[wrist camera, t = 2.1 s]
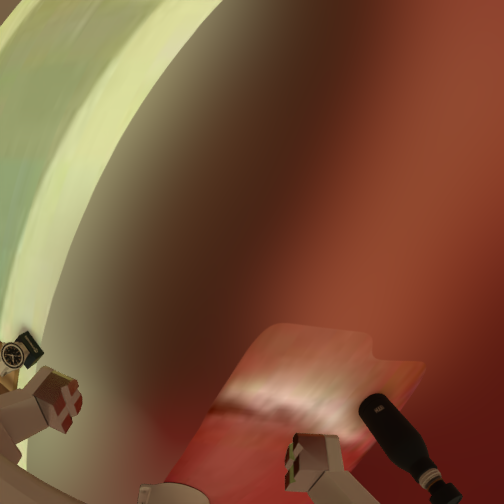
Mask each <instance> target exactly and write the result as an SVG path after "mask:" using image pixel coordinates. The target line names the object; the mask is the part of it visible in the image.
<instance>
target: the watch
mask: <svg viewBox="0 0 504 504" xmlns="http://www.w3.org/2000/svg"><path fill="white" fill-rule="evenodd" d="M2 345H3V347H2V349H1V352H0V375H1V377H4V376H5V375H7V374H9V373H11V372H12V371H14V370H18V369H20V368H21V367H22V365H23V364H24V365H25V367H26V368H27V369H29V368H30V367H31V366H33V365H34V364H35V363H36V362H37V361H38V360H39V359H40V358H41V356H42V355H43V354H44V352H43V351H42V350H41V348H40V347H39V346H38V344H37V343H36V342H35V340H34V339H33V338H32V336H31V335H30V333H29V332H28V331H27V332H25V333H23V334H21V335H19V336H18V338H17V339H16V340H15V342H8V343H5V342H4V343H3V344H2Z"/></svg>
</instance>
